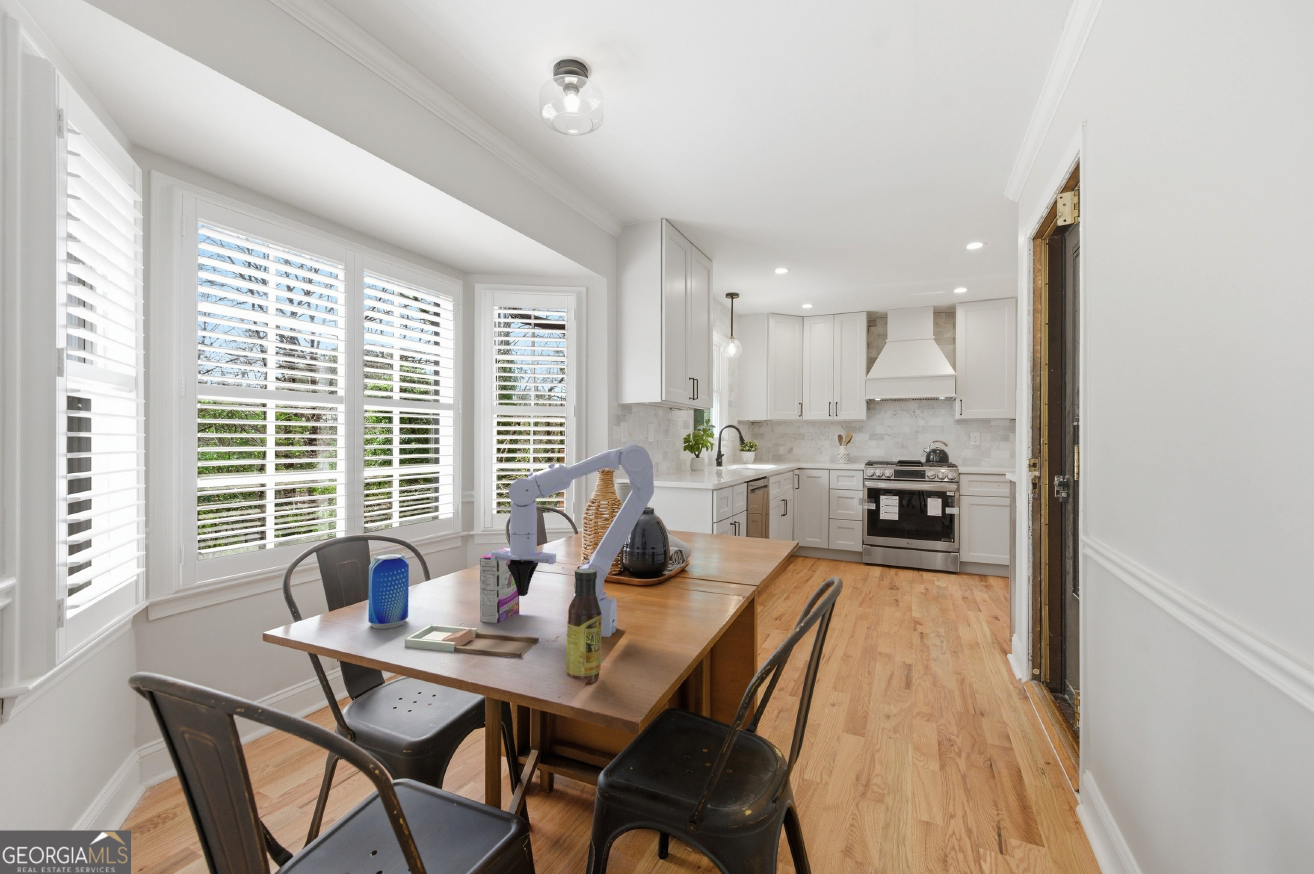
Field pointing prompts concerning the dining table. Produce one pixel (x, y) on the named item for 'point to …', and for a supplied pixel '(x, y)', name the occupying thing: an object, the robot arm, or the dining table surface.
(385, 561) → the beer can
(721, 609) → the dining table surface
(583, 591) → the sauce bottle
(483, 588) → the candy bar box
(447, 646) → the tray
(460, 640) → the tile
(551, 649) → the dining table surface
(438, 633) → the tile
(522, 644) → the board
